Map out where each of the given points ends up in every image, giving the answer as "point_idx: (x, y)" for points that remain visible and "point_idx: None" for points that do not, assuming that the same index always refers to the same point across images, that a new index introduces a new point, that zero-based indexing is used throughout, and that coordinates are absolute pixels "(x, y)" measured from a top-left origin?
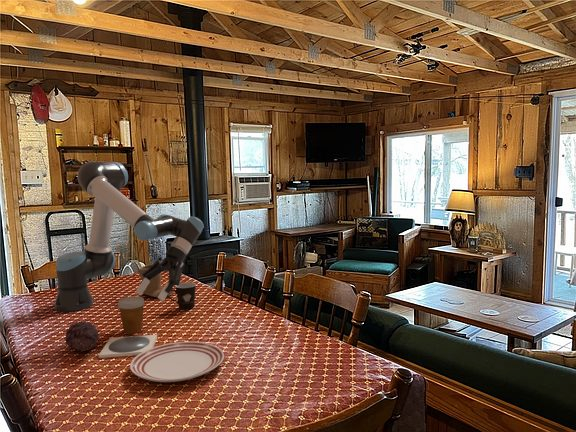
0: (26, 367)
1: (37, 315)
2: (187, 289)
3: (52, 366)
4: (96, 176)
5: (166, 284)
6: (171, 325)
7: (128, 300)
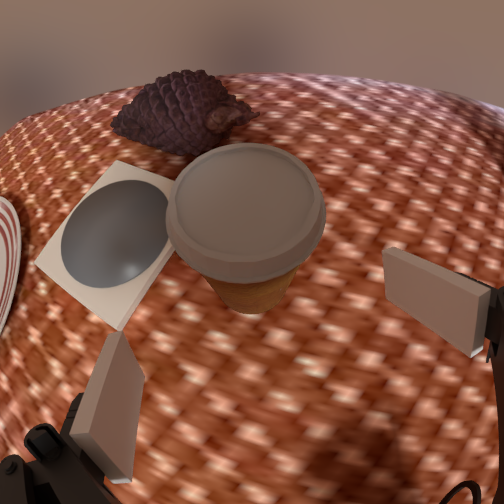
0: None
1: (493, 130)
2: None
3: None
4: None
5: (82, 416)
6: (208, 435)
7: (258, 186)
